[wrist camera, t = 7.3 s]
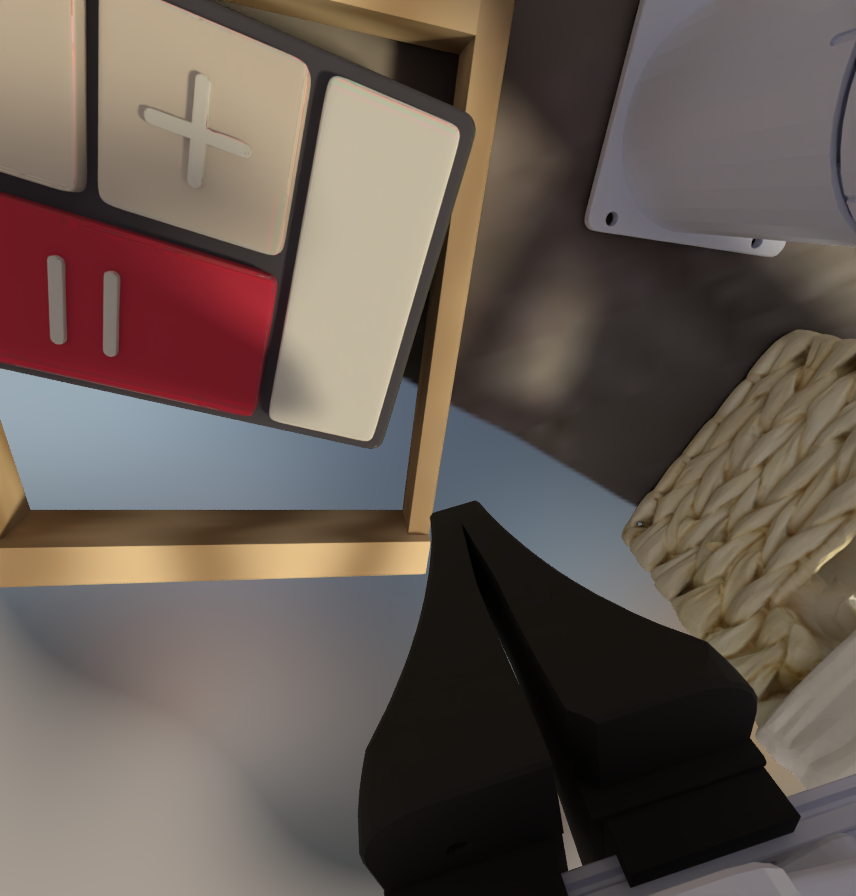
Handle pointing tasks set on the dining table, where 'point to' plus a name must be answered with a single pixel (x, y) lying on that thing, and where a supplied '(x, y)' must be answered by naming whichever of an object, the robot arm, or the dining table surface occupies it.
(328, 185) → the calculator
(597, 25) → the dining table surface
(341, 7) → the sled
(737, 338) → the dining table surface
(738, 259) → the dining table surface
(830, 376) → the storage basket
